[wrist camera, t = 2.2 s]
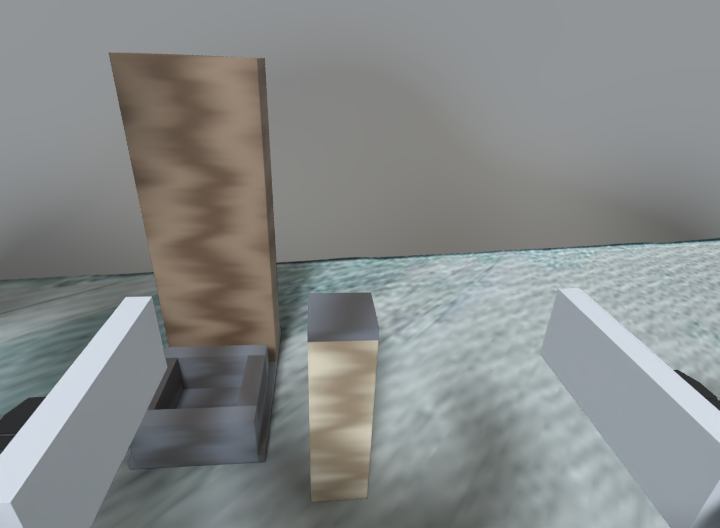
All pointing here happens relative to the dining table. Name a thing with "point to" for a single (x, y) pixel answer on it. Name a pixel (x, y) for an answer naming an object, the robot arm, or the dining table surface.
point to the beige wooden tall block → (341, 393)
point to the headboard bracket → (205, 252)
